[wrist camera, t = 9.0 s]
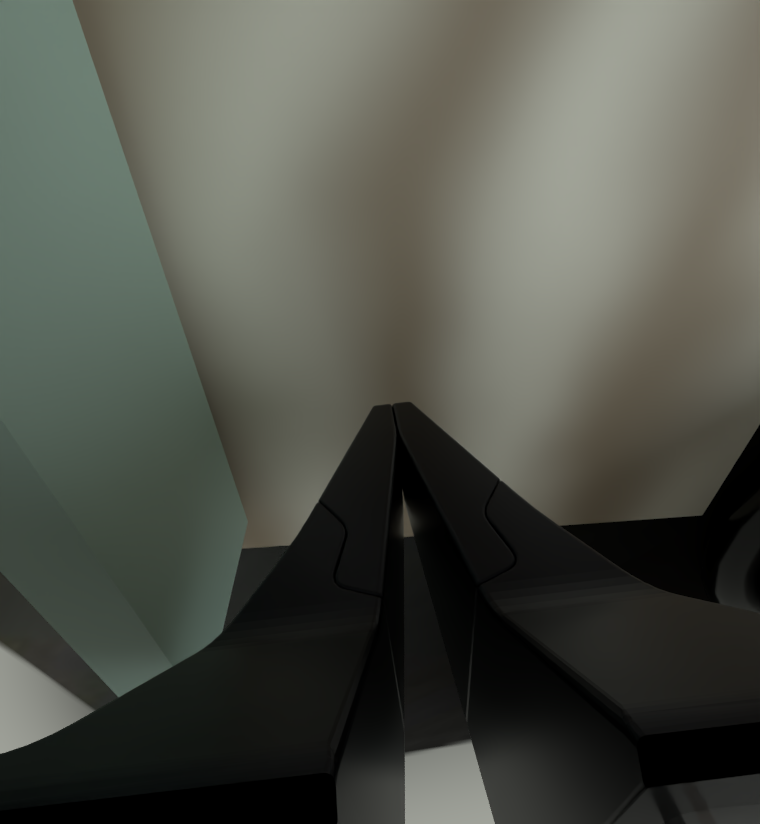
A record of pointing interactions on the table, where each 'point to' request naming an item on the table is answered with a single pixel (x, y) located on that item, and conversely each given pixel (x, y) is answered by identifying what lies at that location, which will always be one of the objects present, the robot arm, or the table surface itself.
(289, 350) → the gate base
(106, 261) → the gate
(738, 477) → the table surface
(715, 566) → the amphora vase
